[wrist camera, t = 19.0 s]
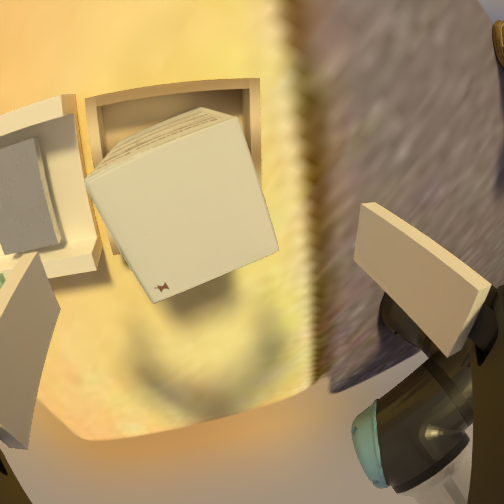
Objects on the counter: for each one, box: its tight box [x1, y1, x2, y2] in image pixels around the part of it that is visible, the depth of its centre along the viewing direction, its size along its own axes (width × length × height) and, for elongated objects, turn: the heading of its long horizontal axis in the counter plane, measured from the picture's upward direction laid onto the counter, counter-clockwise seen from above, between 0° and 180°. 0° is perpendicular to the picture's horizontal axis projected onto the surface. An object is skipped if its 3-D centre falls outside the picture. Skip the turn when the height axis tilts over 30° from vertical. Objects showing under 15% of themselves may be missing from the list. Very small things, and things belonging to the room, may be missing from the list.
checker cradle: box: [0, 94, 103, 289], centre depth 20 cm, size 14×12×5 cm
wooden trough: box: [85, 78, 262, 255], centre depth 23 cm, size 13×13×3 cm
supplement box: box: [84, 107, 279, 304], centre depth 19 cm, size 7×7×13 cm
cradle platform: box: [0, 136, 61, 255], centre depth 19 cm, size 9×6×1 cm, turn 1°
